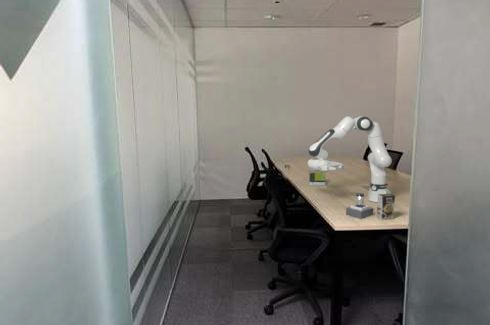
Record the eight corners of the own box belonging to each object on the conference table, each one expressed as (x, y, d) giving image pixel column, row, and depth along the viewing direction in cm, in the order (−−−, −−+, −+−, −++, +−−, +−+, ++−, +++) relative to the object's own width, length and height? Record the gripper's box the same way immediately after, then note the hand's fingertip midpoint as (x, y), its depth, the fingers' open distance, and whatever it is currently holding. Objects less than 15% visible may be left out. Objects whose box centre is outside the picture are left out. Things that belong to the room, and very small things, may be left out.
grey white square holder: (358, 211, 243) (358, 202, 242) (373, 215, 233) (373, 205, 232) (346, 214, 235) (346, 205, 234) (361, 219, 225) (361, 209, 224)
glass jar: (358, 206, 237) (359, 192, 235) (365, 208, 233) (365, 193, 231) (354, 207, 234) (354, 193, 232) (360, 209, 230) (361, 195, 228)
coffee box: (382, 220, 222) (383, 196, 220) (376, 217, 228) (377, 194, 226) (394, 219, 224) (395, 195, 222) (388, 216, 230) (389, 193, 228)
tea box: (324, 183, 339) (324, 169, 337) (325, 185, 329) (325, 170, 327) (308, 183, 340) (309, 169, 338) (309, 185, 331) (310, 170, 328)
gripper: (316, 163, 254) (331, 165, 243) (333, 160, 266) (348, 162, 255) (316, 171, 255) (331, 173, 244) (333, 168, 267) (348, 170, 256)
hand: (340, 168), depth 249 cm, fingers open, 8 cm apart
